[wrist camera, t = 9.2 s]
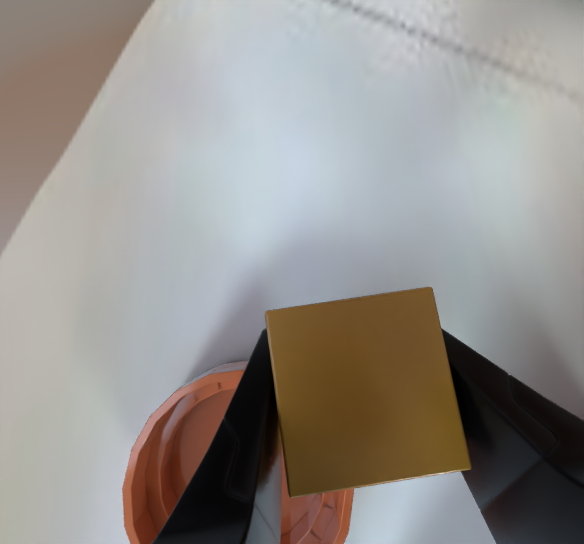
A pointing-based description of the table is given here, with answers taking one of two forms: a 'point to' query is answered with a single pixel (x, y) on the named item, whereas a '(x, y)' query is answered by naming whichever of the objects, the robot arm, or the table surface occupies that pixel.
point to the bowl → (188, 455)
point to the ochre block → (364, 392)
